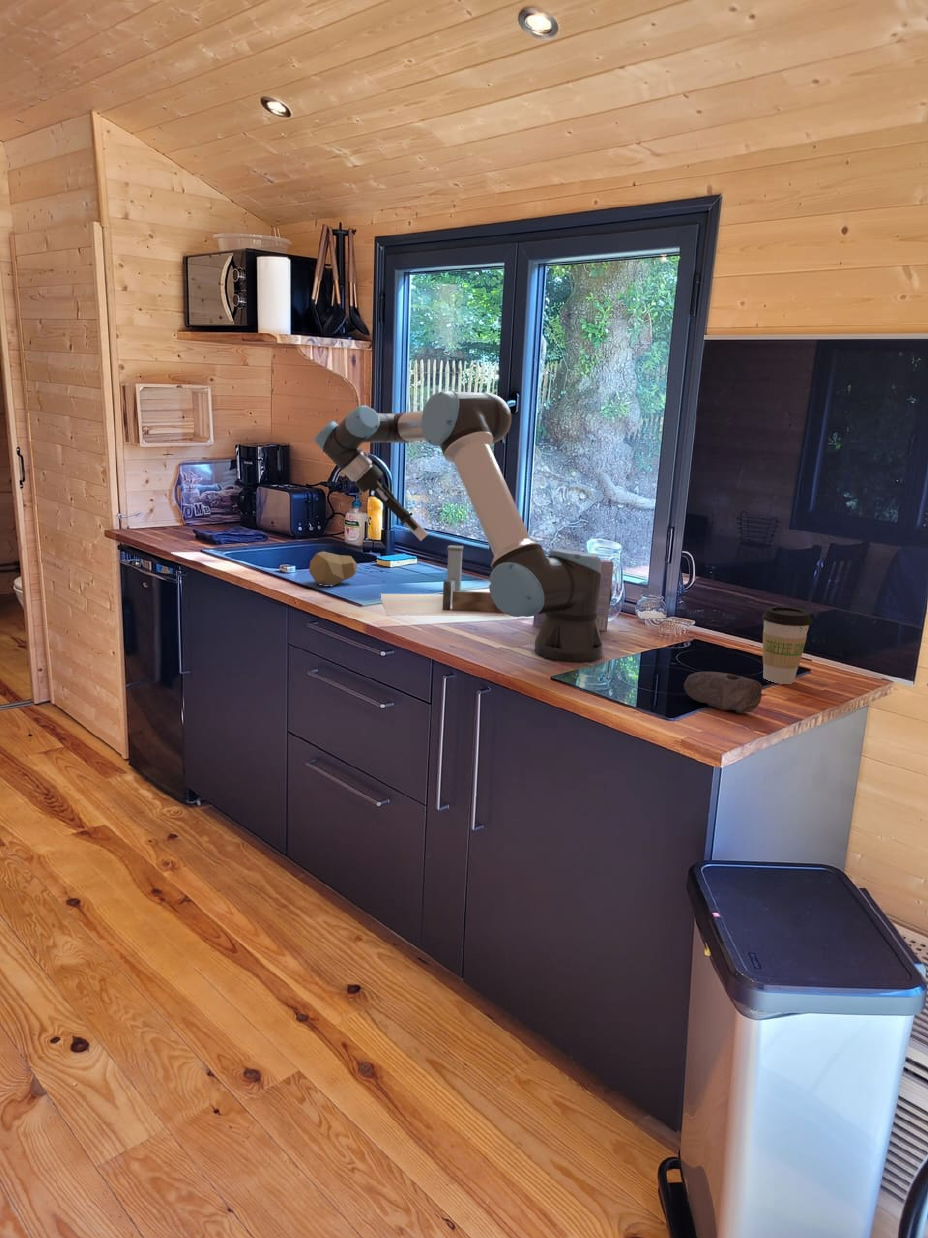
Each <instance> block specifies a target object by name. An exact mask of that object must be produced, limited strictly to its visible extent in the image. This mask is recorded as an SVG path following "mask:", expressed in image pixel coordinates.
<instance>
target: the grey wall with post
mask: <svg viewBox="0 0 928 1238" xmlns="http://www.w3.org/2000/svg"><path fill="white" fill-rule="evenodd" d="M463 550H464V545H456V544H455V545H452V544H450V545H448V546H447V549H446V551H447V552H448V553H447V569H446V570H447V573H446V581H451V600H450V605H451V603H452V598H453V591H462V590H461V589H462V570H463V569H462V567H463Z"/></svg>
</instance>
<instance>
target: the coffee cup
mask: <svg viewBox="0 0 928 1238" xmlns="http://www.w3.org/2000/svg"><path fill="white" fill-rule="evenodd" d="M761 618H762V620H763V630H762V663H763V666H762V667H763V671H762V673H763V674H762V675H763V676H762V677H763V678H764V679H766V680H768V681H771V682H774V683H779V684H778V685H782V684H789V685H793V684H794V683H795V679H796V676H797V672H798V668H799V667H800V662H801V659H802V657H803V652H804V649H805V644H806V643H807V637H808V636H807V633H808V631H809V626H810V625H812V623H813V621H812V618H811V616H810V612H809V611H808V610H805V609H801V608H798V607H792V606H777V605H774V606H768V607H767V608H766V609H765V611H764V613H763V614H762V616H761ZM764 679H763V680H764ZM768 681H767V682H768ZM774 683H773V684H774ZM792 683H793V684H792Z"/></svg>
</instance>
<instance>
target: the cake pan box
mask: <svg viewBox="0 0 928 1238" xmlns="http://www.w3.org/2000/svg"><path fill="white" fill-rule="evenodd" d="M600 560H601V573H602V575H601V581H600V592H599V603H598V613H597V624H598V628H599V632H607V631H608V623H609V615H610V613H609V610H610V604H611V603H612V596H613V593H612V592H613V591H612V582H613V574H614V567H615V566H614V561H611V560H609V559H600ZM532 618H533V620H532V626H534V627H535V629H536V630H537V629H539V630H540V628H541V625H542V623H543V620H544V618H545V613H542V614H537V615H535V616H533V617H532Z"/></svg>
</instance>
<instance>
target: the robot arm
mask: <svg viewBox="0 0 928 1238" xmlns="http://www.w3.org/2000/svg"><path fill="white" fill-rule="evenodd" d="M511 425H512V413H511V408H510V407H509V406H508V403H507V402H506V400H504V399H503V398H501V397H500V396H498V395H496V394H494V393H490V392H471V391H470V392H468V391H455V390H448V391H446V390H445V391H437V392H435V393H434V394H432V395H431V396H430V397H429V398H428V400H427V401H426V403H425V404H424V407H423V410H417V411H409V412H397V413H393V412H392V413H388V412H387V413H383V412H382V413H381V412H377V411H375V409H374V408H371V407H369V406H368V405H360V406H357V407H356V408H354V409H353V410H352V411H350V412H349V413H348V414H347V415H346V416H345V418H343V420H342V421H341V422H340V423H339V424H338V423H337V422H335V421H334V420H331V421H330V422H329V423H328V424H326V426H324V427H323V428H322V429H321V430H320V431H319V432H318V433H317V434H316V435H315V436H314V441H315V443H316V444H317V445H318V447H319V448H320V450H321V451H322V452H323V454H325V455H327V457H328V458H329V459H330V460H331V461H332V462H333V463H334V465H336V466H337V467H338V468H339V469H340V470H341V472H342V473H343V474H344V475H345V476H346V478H348V479H349V480H350V481H351V482H354V485H355V486H356V488H358V489H359V490H360V491H361V493H367V491H369V489H371V490H372V492H373V496H374V497H375V498H376V500H379V501H380V502H381V503H382V504H383V505H384V506H385V507H387V508H388V510H389V511H391V512H392V513H393V514H394V515H395V516H396V517H397V518H398V519H399V521H400V522H401V523H400V525H401V526H403V525H405V527H407V528H408V529H409V530H410V531H411V532H412V533H413V535H414V536H416V538H417V539H418V540H419V541H420V542H422V541H423V539H425V538H426V537H427V536H428V535H429V532H427V531H426V529H424V528H423V527H422V526H421V524H420V522H419V523H418V521H417V520H416V519H415V518H414V517H413V516H412V515H413V512H412V511H411V512H409V511H408V510H407V509H406V508H405V507H404V506H403V505H402V504H401V502H399V500H398V499H397V498H396V497H395V495H394V494H393V492H391V490H390V489H389V487H388V486H387V484H386V483H383V484H382V483H380V479H381V478H382V477H383V476H384V472H383V471H382V470H381V469H380V468H379V467H378V466H377V465H376V464H373V461H372V459H370V458H369V456H370V455H369V453H368V452H365V453H364V452H363V450H362V449H361V448H360V446H361V445H363V444H365V443H369V444H370V443H371V444H372V443H379V444H380V443H397V444H409V443H414V442H422V441H426V442H427V443H428V444H430V445H432V446H435V447H438V446H439V447H440V450H441V452H442V454H443V455H442V456H444V457H443V458H444V459H445V460H446V461H447V462H449V463H452V464H454V465H455V467H456V471H457V472H458V474H459V477H460V479H461V481H462V484H463V486H464V489H465V491H466V493H467V495H468V499H469V501H470V503H471V505H472V507H473V509H474V510H473V511H474V512H475V514H476V516H477V520H478V521H479V524H480V525H481V526H480V527H481V529H482V530H483V533H484V535H485V537H486V540H487V542H488V545H489V547H490V549H491V552H492V554H493V558H492V562H491V564H490V568H491V570H492V571H491V573H490V575H489V579H488V582H489V583H490V584H489V585H488V589H489V592H490V594H491V597H492V599H493V601H494V603H495V604H496V606H497V607H498V608H499V609H500V610H501V611H502V612H503V613H505V614H507V615H510V616H509V617H515V618H522V617H523V618H531V617H534V616H535V615H537V614H542V613H545V618H544V620H543V623H542V625H541V628H540V629H539V631H538V632H537V635H536V638H535V642H534V652H535V653H536V654H538V655H539V656H542V657H544V658H548V659H551V660H557V661H562V662H563V661H564V662H578V663H579V662H590V661H591V662H592V661H595V660H598V659H600V658H601V657H603V656H602V655H603V648H604V647H603V641H602V637H601V633H600V632H601V631H599V628H598V624H597V613H598V603H599V592H600V581H601V575H602V573H601V560H602V559H601V557H599V556H598V555H596V554H593V553H590V552H584V551H578V550H570V549H565V548H551V549H550V550H549V553H548V554H547V555H546V553H545V551H544V549H543V546H542V545H541V543H539V542H537V541H534V540H532V539H531V537H530V535H529V532H528V530H527V528H526V525H525V523H524V521H523V519H522V516H521V515H520V512H519V510H518V507H517V505H516V503H515V501H514V498H513V496H512V493H511V492H510V489H509V487H508V484H507V483H506V480H505V478H504V476H503V474H502V470H501V469H500V466H499V465H498V462H497V460H496V458H495V455H494V453H493V450H492V449H491V447H492V445H493V444H495V443H498V442H499V441H501V440H502V439H504V438H505V436H506V435H507V434H508V432H509V431H510V428H511Z"/></svg>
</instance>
